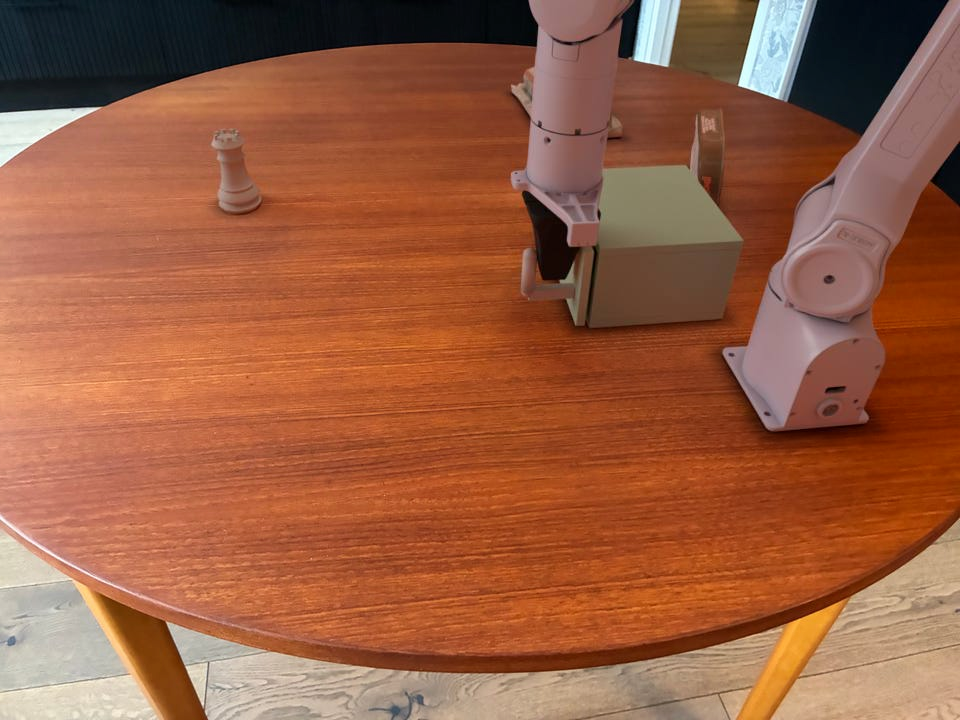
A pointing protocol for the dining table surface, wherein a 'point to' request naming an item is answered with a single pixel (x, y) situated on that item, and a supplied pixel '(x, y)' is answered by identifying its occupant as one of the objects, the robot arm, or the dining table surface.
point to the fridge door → (561, 282)
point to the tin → (709, 151)
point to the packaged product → (525, 96)
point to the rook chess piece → (234, 174)
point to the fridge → (659, 250)
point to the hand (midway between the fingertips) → (552, 275)
